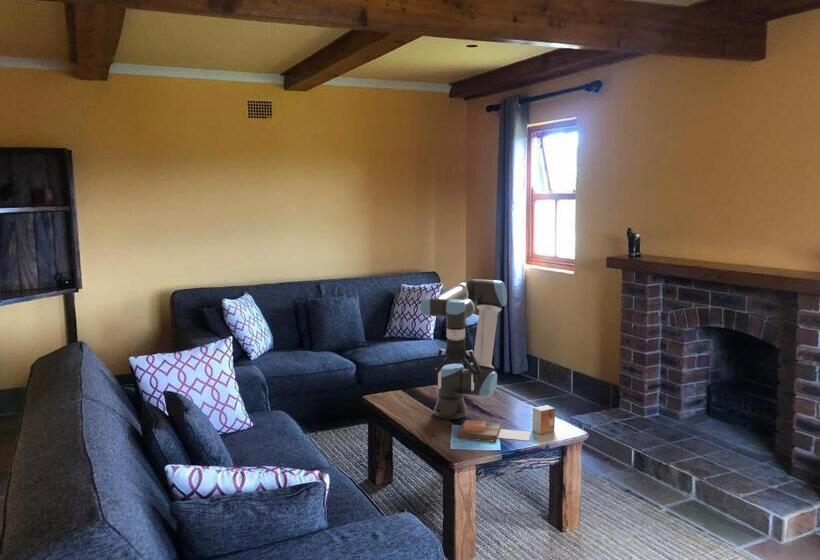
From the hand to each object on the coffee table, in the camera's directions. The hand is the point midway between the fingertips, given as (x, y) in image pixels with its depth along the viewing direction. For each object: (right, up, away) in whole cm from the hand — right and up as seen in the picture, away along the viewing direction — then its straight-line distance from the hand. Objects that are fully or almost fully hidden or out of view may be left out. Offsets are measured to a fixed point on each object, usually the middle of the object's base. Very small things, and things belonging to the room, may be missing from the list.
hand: (456, 388), depth 270 cm
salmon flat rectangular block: (+9, -19, +13) cm, 24 cm away
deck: (+11, -21, +13) cm, 27 cm away
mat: (+25, -22, +11) cm, 35 cm away
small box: (+39, -21, +15) cm, 47 cm away
